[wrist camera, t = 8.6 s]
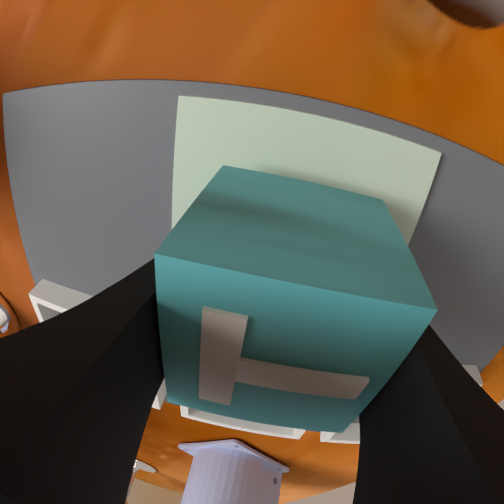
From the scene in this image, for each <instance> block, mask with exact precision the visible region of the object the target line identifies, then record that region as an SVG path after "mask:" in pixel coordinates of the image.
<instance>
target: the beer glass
mask: <svg viewBox="0 0 504 504" xmlns="http://www.w3.org/2000/svg"><path fill="white" fill-rule="evenodd" d="M19 330H20V326H19V322H18V319H17V317H16V315H15V313H14V311H13V310H12V308H11V307H10V305H9V304H8V302H7V301H6V300H5V299H4V297H3V296H2V295H1V294H0V338H2V337H5V336H8V335H11V334H13V333H16V332H19Z"/></svg>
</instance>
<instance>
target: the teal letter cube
mask: <svg viewBox="0 0 504 504" xmlns="http://www.w3.org/2000/svg"><path fill="white" fill-rule="evenodd" d="M154 257H155V279H156V295H157V309H158V321H159V332H160V342H161V351H162V360H163V368H164V376H165V384H166V391H167V398H168V402H171V403H174V404H178V405H181V406H185V407H189V408H193V409H196V410H200V411H204V412H209V413H213V414H217V415H222V416H226V417H231V418H236V419H241V420H246V421H251V422H257V423H262V424H268V425H275V426H281V427H288V428H296V429H304V430H313V431H324V432H336V433H343V432H344V430H345V429H346V428H347V427H348V426H349V425H350V424H351V423H352V422H353V421H354V420H355V419H356V418H357V417H358V415H359V414H360V413H361V412H362V411H363V410H364V409H365V408H366V406H367V405H368V404H369V403H370V402H371V401H372V399H373V398H374V397H375V396H376V395H377V394H378V392H379V391H380V390H381V389H382V387H383V386H384V385H385V384H386V383H387V381H388V380H389V379H390V378H391V376H392V375H393V374H394V372H395V371H396V370H397V368H398V367H399V366H400V365H401V363H402V362H403V361H404V359H405V358H406V356H407V355H408V354H409V352H410V351H411V350H412V348H413V347H414V345H415V344H416V342H417V341H418V340H419V338H420V337H421V335H422V334H423V332H424V331H425V329H426V328H427V326H428V325H429V323H430V322H431V320H432V319H433V317H434V315H435V314H436V312H437V311H438V309H437V307H436V305H435V302H434V300H433V298H432V295H431V293H430V291H429V289H428V286H427V284H426V282H425V280H424V278H423V276H422V274H421V271H420V269H419V267H418V265H417V263H416V261H415V259H414V257H413V255H412V253H411V251H410V249H409V247H408V245H407V243H406V242H405V240H404V238H403V236H402V234H401V232H400V230H399V228H398V227H397V225H396V223H395V221H394V219H393V218H392V216H391V214H390V212H389V210H388V209H387V207H386V205H385V203H384V202H383V200H381V199H377V198H374V197H370V196H366V195H362V194H358V193H354V192H350V191H346V190H342V189H338V188H334V187H330V186H326V185H321V184H317V183H312V182H308V181H303V180H299V179H294V178H289V177H284V176H279V175H275V174H269V173H264V172H259V171H254V170H248V169H243V168H237V167H231V166H225V165H223V166H222V167H221V168H220V169H219V171H218V172H217V173H216V174H215V176H214V177H213V178H212V179H211V180H210V182H209V183H208V184H207V185H206V187H205V188H204V189H203V190H202V192H201V193H200V194H199V195H198V197H197V198H196V199H195V200H194V202H193V203H192V204H191V205H190V207H189V208H188V209H187V211H186V212H185V213H184V215H183V216H182V217H181V218H180V220H179V221H178V222H177V224H176V225H175V226H174V228H173V229H172V230H171V232H170V233H169V234H168V236H167V237H166V238H165V240H164V241H163V242H162V244H161V245H160V246H159V248H158V249H157V250H156V252H155V253H154Z"/></svg>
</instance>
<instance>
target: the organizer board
mask: <svg viewBox="0 0 504 504" xmlns="http://www.w3.org/2000/svg"><path fill="white" fill-rule="evenodd" d="M3 121H4V137H5V148H6V157H7V166H8V173H9V180H10V186H11V192H12V197H13V203H14V208H15V213H16V217H17V222H18V226H19V230H20V234H21V238H22V242H23V246H24V250H25V253H26V257H27V260H28V264H29V267H30V270H31V273H32V276H33V280H34V283H35V287H34V288H33V289H32V291H31V292H30V293H29V296H30V299H31V302H32V304H33V307H34V309H35V312H36V314H37V317H38V319H39V321H40V322H43V321H45V320H48V319H50V318H52V317H54V316H56V315H59V314H61V313H63V312H65V311H67V310H69V309H71V308H73V307H75V306H77V305H79V304H80V303H82V302H84V301H86V300H88V299H90V298H91V297H93V296H95V295H96V294H98V293H100V292H101V291H103V290H105V289H106V288H108V287H110V286H111V285H113V284H115V283H116V282H118V281H120V280H121V279H123V278H125V277H126V276H128V275H129V274H131V273H132V272H134V271H135V270H137V269H138V268H140V267H141V266H143V265H144V264H146V263H147V262H149V261H150V260H152V259H153V258H155V257H154V253H155V252H156V250H157V249H158V248H159V246H160V245H161V244H162V242H163V241H164V240H165V238H166V237H167V236H168V234H169V233H170V232H171V230H172V229H173V228H174V226H175V225H176V224H177V222H178V221H179V220H180V218H181V217H182V216H183V215H184V213H185V212H186V211H187V209H188V208H189V207H190V205H191V204H192V203H193V202H194V200H195V199H196V198H197V197H198V195H199V194H200V193H201V192H202V190H203V189H204V188H205V187H206V185H207V184H208V183H209V182H210V180H211V179H212V178H213V177H214V176H215V174H216V173H217V172H218V171H219V169H220V168H221V167H222V166H223V165H225V166H231V167H237V168H243V169H248V170H254V171H259V172H264V173H269V174H275V175H279V176H284V177H289V178H294V179H299V180H303V181H308V182H312V183H317V184H321V185H326V186H330V187H334V188H338V189H342V190H346V191H350V192H354V193H358V194H362V195H366V196H370V197H374V198H377V199H381V200H383V202H384V203H385V205H386V207H387V209H388V210H389V212H390V214H391V216H392V218H393V219H394V221H395V223H396V225H397V227H398V228H399V230H400V232H401V234H402V236H403V238H404V240H405V242H406V243H407V245H408V247H409V249H410V251H411V253H412V255H413V257H414V259H415V261H416V263H417V265H418V267H419V269H420V271H421V274H422V276H423V278H424V280H425V282H426V284H427V286H428V289H429V291H430V293H431V295H432V298H433V300H434V302H435V305H436V307H437V309H438V311H437V312H436V314H435V315H434V317H433V319H432V320H431V322H430V323H429V325H430V326H431V327H432V328H433V330H434V331H435V332H436V334H437V335H438V336H439V337H440V339H441V340H442V341H443V343H444V344H445V345H446V346H447V348H448V349H449V350H450V351H451V353H452V354H453V355H454V356H455V357H456V359H457V360H458V361H459V362H460V364H461V365H462V366H463V367H464V368H465V370H466V371H467V372H468V373H469V374H470V375H471V377H472V378H473V379H474V380H475V381H476V382H477V383H478V384H479V385H480V386H482V385H483V382H482V379H481V376H480V373H481V372H482V370H483V369H484V368H485V367H486V366H487V365H488V364H489V362H490V361H491V360H492V359H493V358H494V356H495V355H496V354H497V353H498V352H499V350H500V349H501V348H502V347H503V345H504V165H502V164H500V163H498V162H496V161H494V160H492V159H490V158H488V157H486V156H484V155H482V154H480V153H478V152H476V151H474V150H471V149H469V148H467V147H465V146H462V145H460V144H458V143H456V142H453V141H451V140H448V139H446V138H444V137H441V136H439V135H436V134H433V133H431V132H428V131H426V130H423V129H420V128H417V127H415V126H412V125H409V124H406V123H403V122H400V121H397V120H394V119H391V118H388V117H385V116H382V115H378V114H375V113H372V112H368V111H365V110H361V109H358V108H354V107H350V106H346V105H342V104H339V103H334V102H330V101H326V100H322V99H317V98H313V97H308V96H303V95H298V94H293V93H287V92H282V91H276V90H270V89H264V88H257V87H250V86H242V85H234V84H225V83H214V82H203V81H188V80H165V79H119V80H97V81H83V82H72V83H62V84H54V85H46V86H39V87H33V88H27V89H21V90H15V91H11V92H7V93H4V94H3ZM163 401H165V402H168V398H167V391H166V384H165V378H164V380H163V382H162V384H161V386H160V388H159V390H158V393H157V395H156V397H155V400H154V402H153V405H152V408H155V409H158V410H160V409H161V407H162V404H163ZM168 403H171V402H168ZM172 404H174V403H172ZM175 405H178V404H175ZM179 406H180V409H181V416H182V417H186V418H190V419H193V420H197V421H201V422H205V423H209V424H214V425H218V426H222V427H227V428H232V429H237V430H242V431H247V432H253V433H258V434H264V435H271V436H277V437H284V438H292V439H300V437H301V436H302V435H303V433H304V432H305V431H313V430H304V429H296V428H288V427H281V426H275V425H268V424H262V423H257V422H251V421H246V420H241V419H236V418H231V417H226V416H222V415H217V414H213V413H209V412H204V411H200V410H196V409H193V408H189V407H185V406H181V405H179ZM315 432H321V436H320V442H333V443H351V444H360V425H359V415H358V417H357V418H356V419H355V420H354V421H353V422H352V423H351V424H350V425H349V426H348V427H347V428H346V429H345V430H344V432H343V433H336V432H324V431H315Z"/></svg>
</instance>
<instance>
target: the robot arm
mask: <svg viewBox="0 0 504 504" xmlns="http://www.w3.org/2000/svg"><path fill="white" fill-rule="evenodd" d="M164 378H165V376H164V368H163V360H162V351H161V342H160V332H159V321H158V309H157V295H156V279H155V258H153V259H152V260H150V261H149V262H147V263H146V264H144V265H143V266H141V267H140V268H138V269H137V270H135V271H134V272H132V273H131V274H129V275H128V276H126V277H125V278H123V279H121V280H120V281H118V282H116V283H115V284H113V285H111V286H110V287H108V288H106V289H105V290H103V291H101V292H100V293H98V294H96V295H95V296H93V297H91V298H90V299H88V300H86V301H84V302H82V303H80V304H79V305H77V306H75V307H73V308H71V309H69V310H67V311H65V312H63V313H61V314H59V315H56V316H54V317H52V318H50V319H48V320H45V321H43V322H40V323H38V324H36V325H33V326H31V327H28V328H26V329H24V330H21V331H19V332H16V333H13V334H11V335H8V336H5V337H2V338H0V504H125V502H126V497H127V492H128V488H129V483H130V479H131V475H132V471H133V467H134V463H135V460H136V456H137V453H138V449H139V446H140V442H141V439H142V435H143V432H144V429H145V426H146V423H147V420H148V417H149V414H150V410H151V407H152V405H153V402H154V400H155V397H156V395H157V393H158V390H159V388H160V386H161V384H162V382H163V380H164ZM359 425H360V448H359V461H358V471H357V479H356V486H355V493H354V499H353V504H504V410H503V409H502V408H501V407H500V406H499V405H498V404H497V403H496V402H495V401H494V400H493V399H492V398H491V397H490V396H489V395H488V394H487V393H486V392H485V391H484V390H483V389H482V388H481V386H480V385H479V384H478V383H477V382H476V381H475V380H474V379H473V378H472V377H471V375H470V374H469V373H468V372H467V371H466V370H465V368H464V367H463V366H462V365H461V364H460V362H459V361H458V360H457V359H456V357H455V356H454V355H453V354H452V353H451V351H450V350H449V349H448V348H447V346H446V345H445V344H444V343H443V341H442V340H441V339H440V337H439V336H438V335H437V334H436V332H435V331H434V330H433V328H432V327H431V326H430V325H428V326H427V328H426V329H425V331H424V332H423V334H422V335H421V337H420V338H419V340H418V341H417V342H416V344H415V345H414V347H413V348H412V350H411V351H410V352H409V354H408V355H407V356H406V358H405V359H404V361H403V362H402V363H401V365H400V366H399V367H398V368H397V370H396V371H395V372H394V374H393V375H392V376H391V378H390V379H389V380H388V381H387V383H386V384H385V385H384V386H383V387H382V389H381V390H380V391H379V392H378V394H377V395H376V396H375V397H374V398H373V399H372V401H371V402H370V403H369V404H368V405H367V406H366V408H365V409H364V410H363V411H362V412H361V413H360V414H359ZM178 448H179V449H181V450H183V451H185V452H187V453H188V454H190V455H192V456H194V458H193V461H192V465H191V468H190V472H189V475H188V479H187V482H186V486H185V490H184V493H183V497H182V501H181V504H278V502H279V495H280V487H281V480H282V473H285V472H289V470H290V468H288V467H286V466H284V465H282V464H280V463H278V462H277V461H275V460H273V459H271V458H269V457H267V456H265V455H263V454H262V453H260V452H258V451H256V450H254V449H253V448H251V447H249V446H247V445H246V444H244V443H242V442H240V441H239V440H236V439H229V440H220V441H210V442H198V443H183V444H179V445H178Z"/></svg>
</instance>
